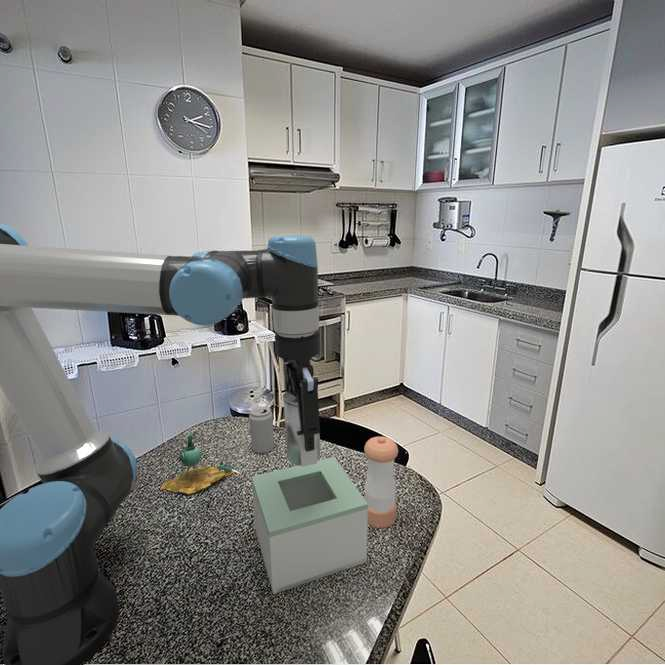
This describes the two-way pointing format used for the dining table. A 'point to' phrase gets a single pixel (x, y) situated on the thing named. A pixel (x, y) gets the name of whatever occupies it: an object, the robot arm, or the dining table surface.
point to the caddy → (309, 523)
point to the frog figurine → (195, 471)
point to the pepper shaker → (380, 481)
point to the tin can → (294, 429)
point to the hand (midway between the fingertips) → (303, 453)
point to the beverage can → (261, 429)
